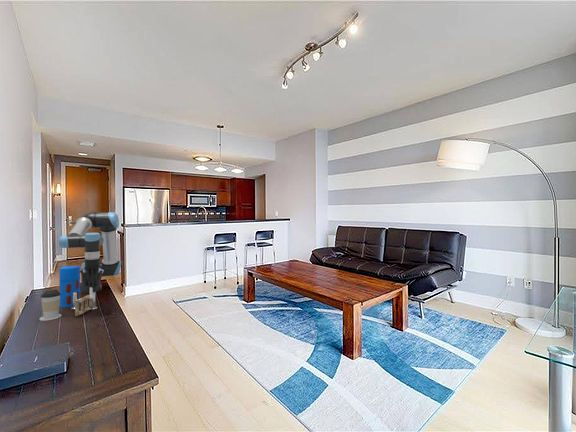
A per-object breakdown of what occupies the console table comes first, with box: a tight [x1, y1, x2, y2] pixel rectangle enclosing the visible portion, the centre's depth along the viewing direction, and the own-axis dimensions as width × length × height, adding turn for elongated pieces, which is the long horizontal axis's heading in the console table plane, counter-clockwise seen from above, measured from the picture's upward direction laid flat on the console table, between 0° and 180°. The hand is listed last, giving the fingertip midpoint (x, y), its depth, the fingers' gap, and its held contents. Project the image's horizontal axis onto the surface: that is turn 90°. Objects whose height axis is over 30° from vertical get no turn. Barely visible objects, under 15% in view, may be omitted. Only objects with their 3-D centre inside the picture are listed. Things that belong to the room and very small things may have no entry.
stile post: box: [70, 292, 77, 310], centre depth 184 cm, size 4×4×10 cm
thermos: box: [58, 265, 81, 308], centre depth 190 cm, size 11×11×25 cm
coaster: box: [39, 313, 62, 322], centre depth 168 cm, size 10×10×1 cm
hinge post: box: [90, 296, 98, 311], centre depth 183 cm, size 4×4×12 cm
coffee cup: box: [40, 289, 61, 319], centre depth 168 cm, size 9×9×15 cm
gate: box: [74, 293, 93, 317], centre depth 175 cm, size 14×1×9 cm, turn 3°
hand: (92, 297), depth 171 cm, fingers closed
